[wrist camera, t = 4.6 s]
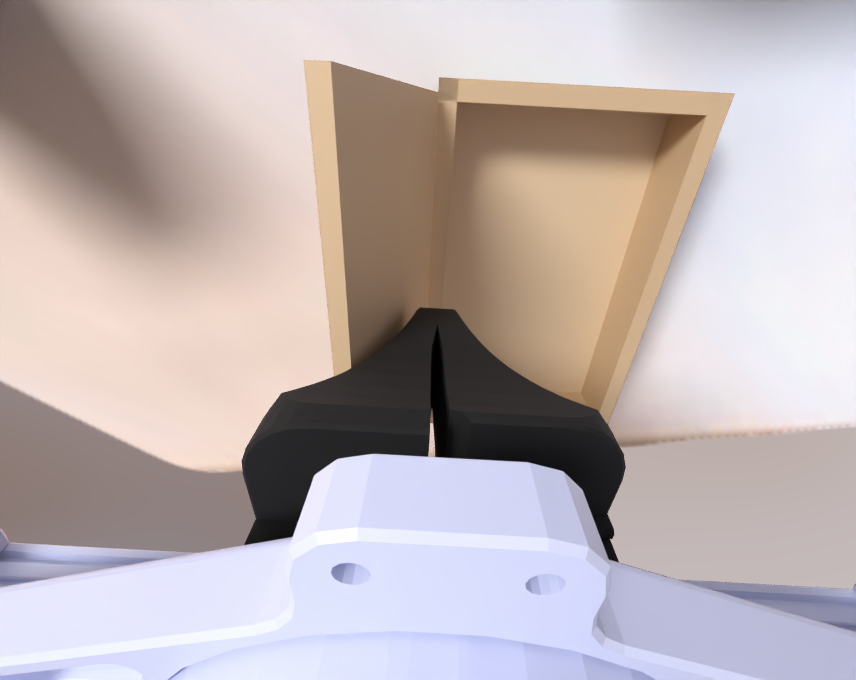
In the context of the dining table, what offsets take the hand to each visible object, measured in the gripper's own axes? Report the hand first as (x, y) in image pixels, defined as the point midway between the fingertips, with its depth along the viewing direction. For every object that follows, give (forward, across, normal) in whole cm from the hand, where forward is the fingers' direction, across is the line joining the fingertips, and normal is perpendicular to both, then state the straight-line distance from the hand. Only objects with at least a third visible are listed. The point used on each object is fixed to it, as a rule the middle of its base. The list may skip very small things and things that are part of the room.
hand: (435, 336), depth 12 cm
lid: (0, +1, 0) cm, 1 cm away
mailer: (+6, -4, 0) cm, 8 cm away
